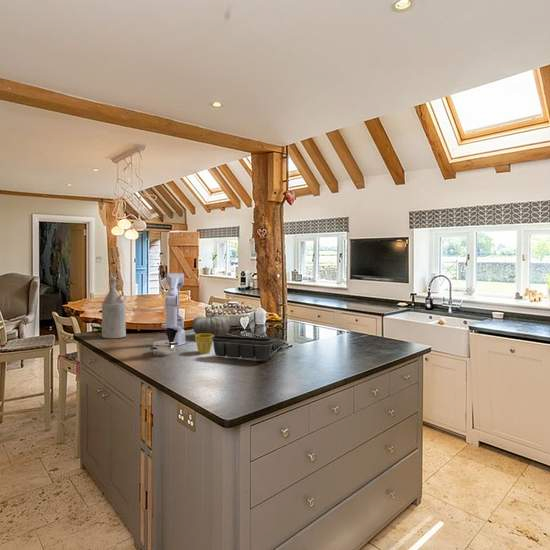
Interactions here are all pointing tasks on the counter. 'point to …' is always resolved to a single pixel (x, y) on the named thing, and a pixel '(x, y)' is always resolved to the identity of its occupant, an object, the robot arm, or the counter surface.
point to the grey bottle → (113, 313)
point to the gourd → (211, 325)
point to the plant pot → (204, 342)
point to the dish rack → (246, 345)
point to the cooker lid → (163, 343)
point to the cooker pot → (163, 350)
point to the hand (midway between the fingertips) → (171, 342)
